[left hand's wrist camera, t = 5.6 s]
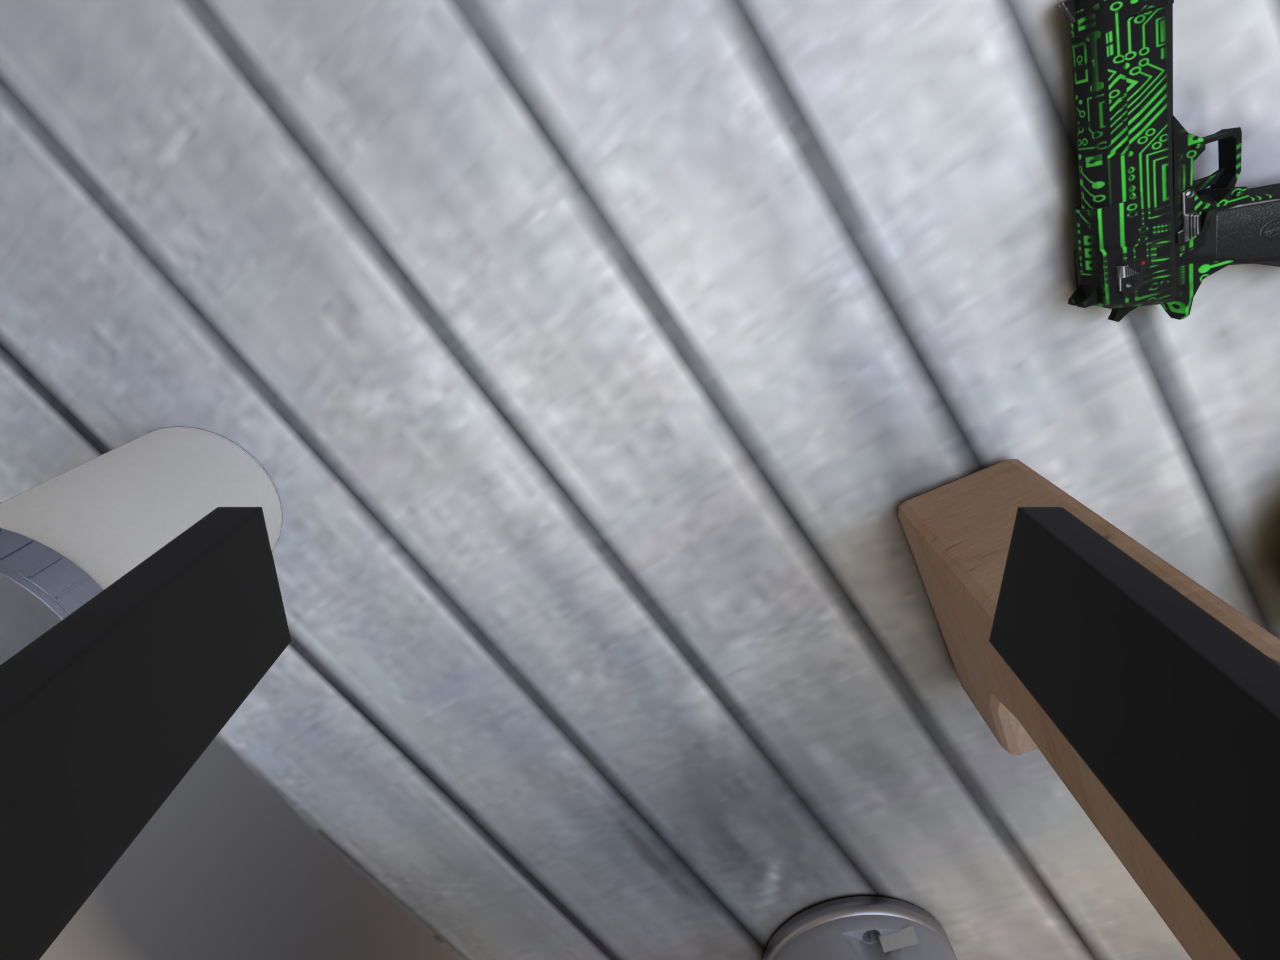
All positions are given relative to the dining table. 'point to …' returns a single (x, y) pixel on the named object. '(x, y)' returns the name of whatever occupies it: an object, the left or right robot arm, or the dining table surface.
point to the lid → (36, 590)
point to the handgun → (1151, 171)
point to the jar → (140, 499)
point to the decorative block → (965, 607)
